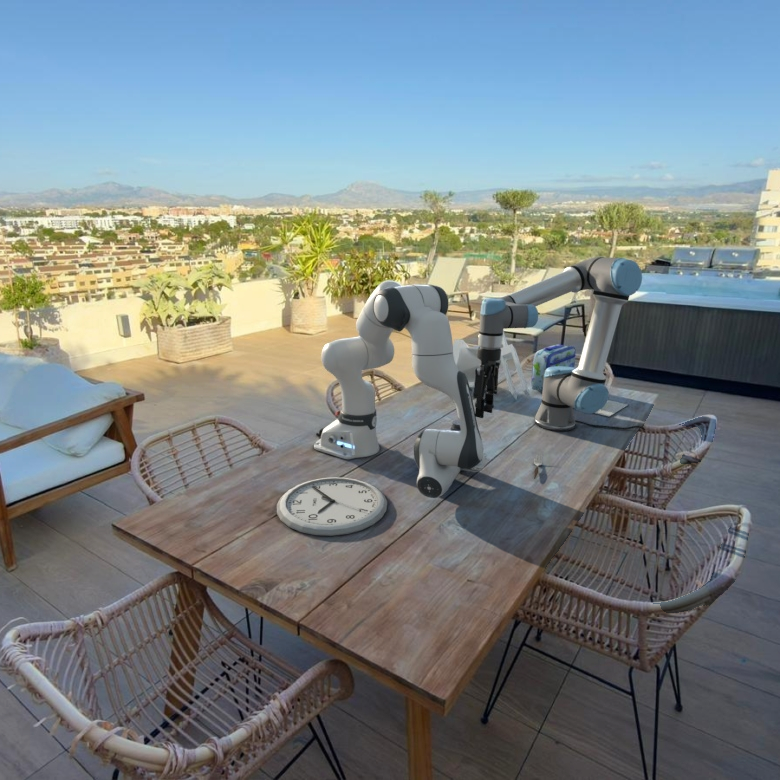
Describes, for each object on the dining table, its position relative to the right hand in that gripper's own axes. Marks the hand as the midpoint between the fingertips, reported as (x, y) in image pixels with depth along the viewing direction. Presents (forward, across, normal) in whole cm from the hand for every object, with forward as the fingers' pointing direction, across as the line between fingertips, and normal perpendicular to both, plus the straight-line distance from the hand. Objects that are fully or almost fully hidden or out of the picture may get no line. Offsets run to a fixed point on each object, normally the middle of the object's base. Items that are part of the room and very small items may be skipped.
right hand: (483, 414), depth 176 cm
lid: (-4, 0, 0) cm, 4 cm away
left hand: (+7, +16, 0) cm, 17 cm away
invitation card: (+12, -75, +21) cm, 79 cm away
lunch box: (+12, -87, -5) cm, 88 cm away
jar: (+13, +17, 0) cm, 21 cm away
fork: (+13, +3, +21) cm, 25 cm away
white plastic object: (+13, -60, -30) cm, 69 cm away
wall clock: (+14, +58, -16) cm, 62 cm away
